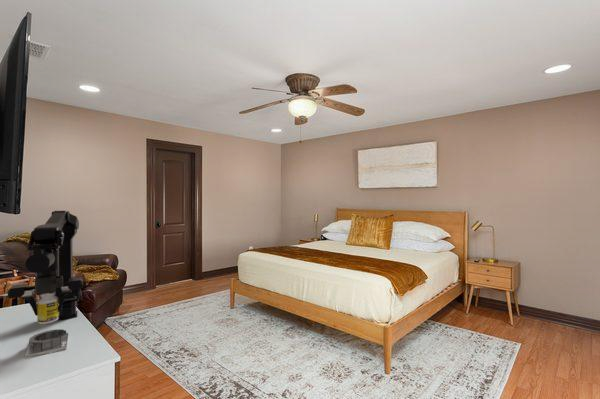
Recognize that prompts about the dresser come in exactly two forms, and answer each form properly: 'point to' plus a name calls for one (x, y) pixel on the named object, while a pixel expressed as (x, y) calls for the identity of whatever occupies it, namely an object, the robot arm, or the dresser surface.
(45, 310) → the supplement bottle
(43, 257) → the robot arm
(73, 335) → the dresser surface
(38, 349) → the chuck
